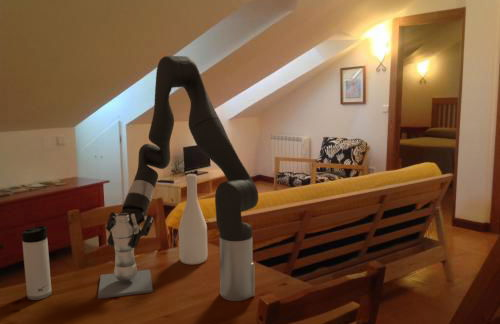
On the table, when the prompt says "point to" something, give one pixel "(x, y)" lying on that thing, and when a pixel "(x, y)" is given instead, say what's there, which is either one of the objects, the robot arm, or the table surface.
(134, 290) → the slate mat
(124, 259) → the plastic bottle
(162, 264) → the table surface
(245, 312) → the table surface
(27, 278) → the travel mug
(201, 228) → the wine bottle
